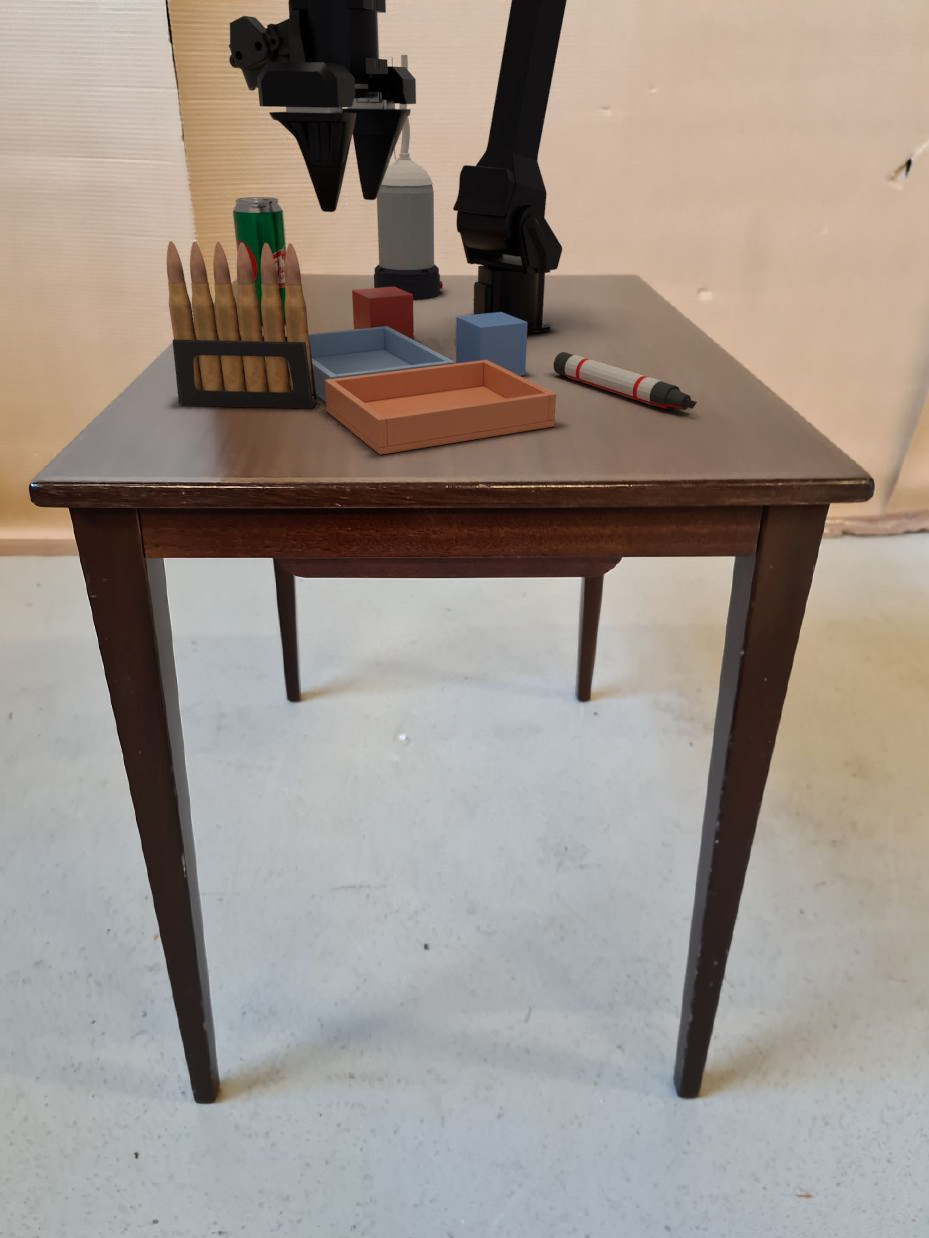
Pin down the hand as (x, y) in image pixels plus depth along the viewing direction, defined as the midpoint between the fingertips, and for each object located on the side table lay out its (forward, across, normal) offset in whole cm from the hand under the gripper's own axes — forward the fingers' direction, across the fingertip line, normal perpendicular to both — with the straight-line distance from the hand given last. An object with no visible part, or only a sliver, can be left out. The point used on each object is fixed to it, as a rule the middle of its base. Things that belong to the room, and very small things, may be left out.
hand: (350, 205), depth 76 cm
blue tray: (+13, +4, +2) cm, 14 cm away
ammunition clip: (+13, +14, -4) cm, 20 cm away
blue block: (+13, -1, +12) cm, 18 cm away
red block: (+13, -9, -1) cm, 16 cm away
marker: (+14, +2, +24) cm, 28 cm away
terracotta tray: (+13, +13, +12) cm, 22 cm away
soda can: (+14, -13, -16) cm, 25 cm away
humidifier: (+14, -33, -6) cm, 36 cm away
